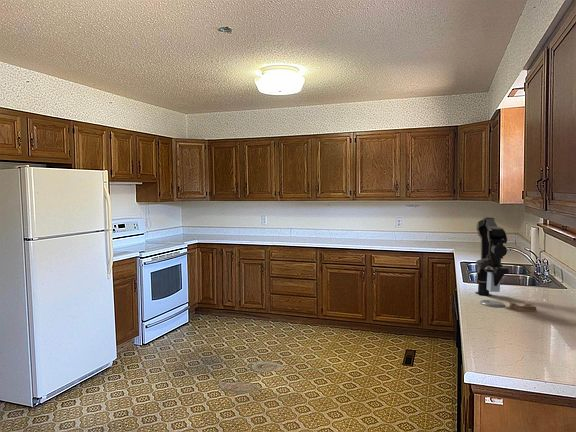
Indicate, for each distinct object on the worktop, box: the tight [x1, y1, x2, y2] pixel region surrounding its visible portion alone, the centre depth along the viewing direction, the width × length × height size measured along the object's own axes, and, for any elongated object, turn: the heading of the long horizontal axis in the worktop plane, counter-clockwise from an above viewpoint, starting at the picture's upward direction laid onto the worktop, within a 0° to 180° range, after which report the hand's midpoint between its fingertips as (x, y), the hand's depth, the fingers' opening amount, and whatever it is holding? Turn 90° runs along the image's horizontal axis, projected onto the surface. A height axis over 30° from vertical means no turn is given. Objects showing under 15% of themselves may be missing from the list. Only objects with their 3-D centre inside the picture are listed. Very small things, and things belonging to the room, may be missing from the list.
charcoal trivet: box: [479, 299, 505, 308], centre depth 223 cm, size 11×11×1 cm
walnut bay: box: [509, 301, 537, 312], centre depth 216 cm, size 8×8×2 cm
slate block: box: [487, 272, 501, 293], centre depth 222 cm, size 4×4×9 cm
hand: (493, 284), depth 222 cm, fingers closed on slate block, 4 cm apart
